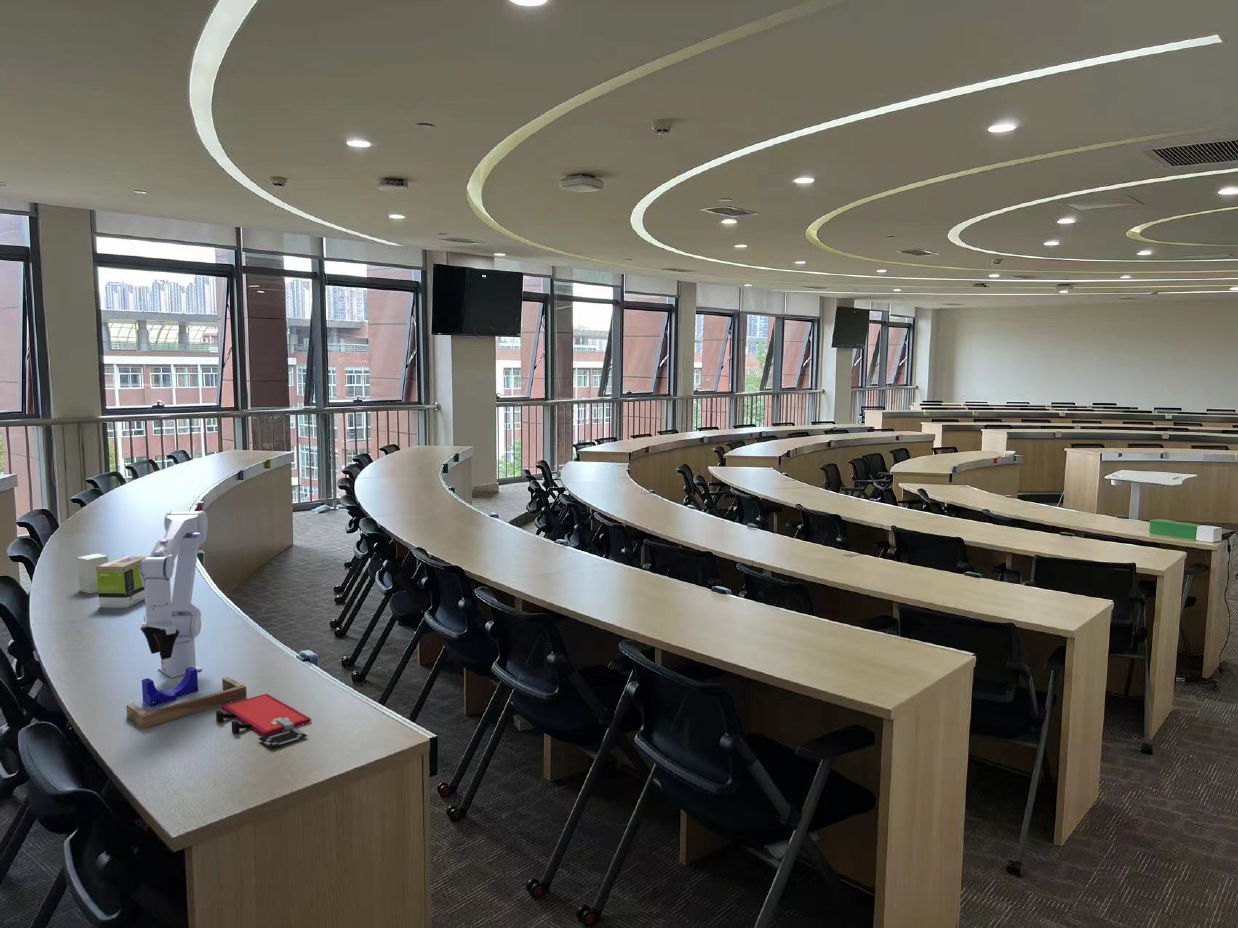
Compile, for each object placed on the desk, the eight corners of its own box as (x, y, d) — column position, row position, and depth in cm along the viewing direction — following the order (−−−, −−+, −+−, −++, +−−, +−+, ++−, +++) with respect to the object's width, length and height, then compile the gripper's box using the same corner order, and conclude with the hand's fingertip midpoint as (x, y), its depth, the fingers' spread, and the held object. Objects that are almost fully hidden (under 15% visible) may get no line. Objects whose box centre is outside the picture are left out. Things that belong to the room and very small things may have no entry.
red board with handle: (262, 754, 180) (327, 733, 191) (262, 741, 179) (327, 721, 191) (205, 715, 200) (267, 699, 211) (205, 704, 199) (266, 688, 211)
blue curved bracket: (150, 708, 203) (149, 684, 202) (143, 703, 206) (141, 679, 205) (200, 693, 212) (199, 670, 211) (192, 688, 215) (191, 666, 214)
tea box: (125, 595, 297) (123, 555, 295) (153, 596, 297) (151, 555, 295) (97, 607, 282) (95, 565, 281) (126, 608, 282) (124, 565, 280)
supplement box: (110, 589, 305) (108, 555, 303) (89, 594, 298) (86, 559, 297) (100, 586, 308) (98, 553, 307) (78, 590, 302) (76, 556, 301)
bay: (127, 716, 197) (126, 704, 197) (228, 687, 215) (228, 676, 215) (143, 728, 191) (142, 716, 190) (246, 697, 209) (246, 686, 209)
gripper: (129, 601, 212) (132, 652, 213) (153, 612, 202) (155, 666, 204) (159, 595, 217) (162, 645, 218) (183, 606, 208) (185, 658, 209)
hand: (161, 655), depth 212 cm, fingers open, 6 cm apart
